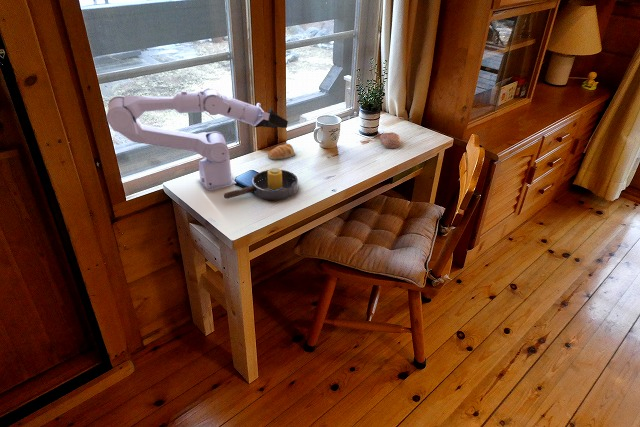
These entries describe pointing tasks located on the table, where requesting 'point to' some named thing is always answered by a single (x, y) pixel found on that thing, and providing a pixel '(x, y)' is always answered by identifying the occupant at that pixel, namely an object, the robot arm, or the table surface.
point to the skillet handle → (239, 192)
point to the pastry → (281, 152)
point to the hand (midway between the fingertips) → (282, 124)
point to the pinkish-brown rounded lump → (390, 140)
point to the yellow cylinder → (274, 179)
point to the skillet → (287, 191)
